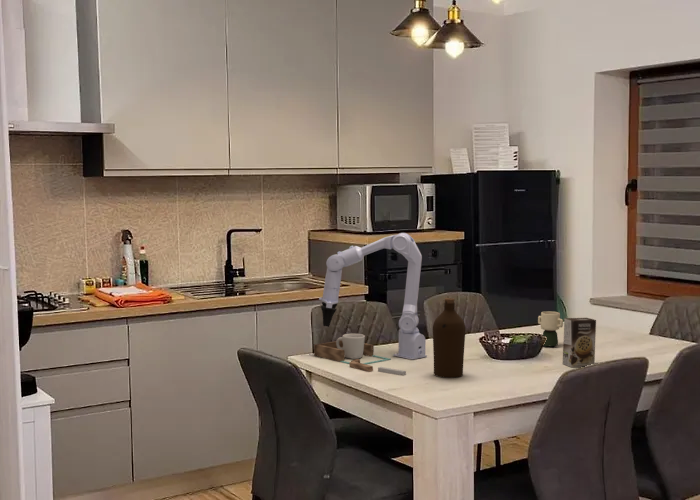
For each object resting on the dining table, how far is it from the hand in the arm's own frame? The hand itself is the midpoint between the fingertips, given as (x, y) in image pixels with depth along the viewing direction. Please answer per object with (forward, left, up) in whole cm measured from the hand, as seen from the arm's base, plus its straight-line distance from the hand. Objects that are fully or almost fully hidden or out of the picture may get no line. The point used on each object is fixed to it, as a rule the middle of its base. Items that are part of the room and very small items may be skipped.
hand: (326, 324), depth 324 cm
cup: (-12, -1, -11) cm, 16 cm away
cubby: (-9, -1, -11) cm, 14 cm away
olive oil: (-53, -6, -11) cm, 54 cm away
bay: (-19, -1, -11) cm, 22 cm away
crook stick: (-28, +8, -10) cm, 31 cm away
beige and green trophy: (-47, -72, -11) cm, 87 cm away
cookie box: (-73, -51, -11) cm, 90 cm away
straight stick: (-39, +6, -11) cm, 41 cm away
